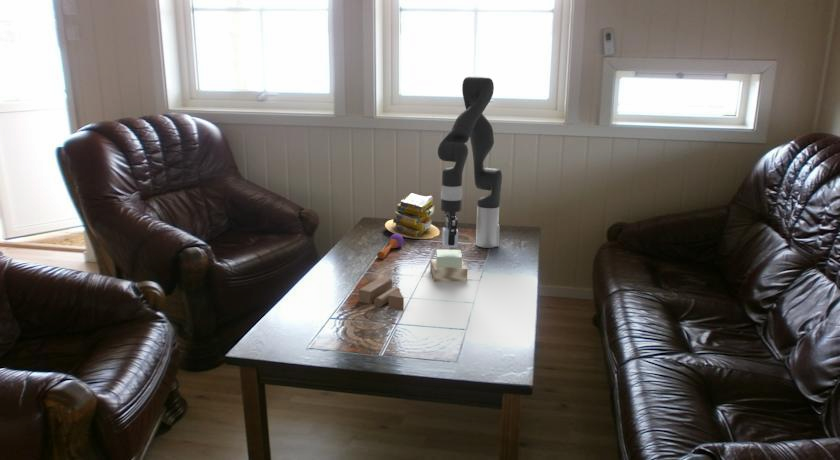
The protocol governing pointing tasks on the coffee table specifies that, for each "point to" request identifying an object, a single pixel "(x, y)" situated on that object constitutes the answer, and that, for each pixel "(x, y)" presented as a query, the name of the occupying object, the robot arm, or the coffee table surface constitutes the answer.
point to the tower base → (448, 272)
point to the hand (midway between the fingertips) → (450, 242)
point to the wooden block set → (382, 294)
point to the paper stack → (414, 218)
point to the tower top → (449, 259)
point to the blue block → (445, 238)
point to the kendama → (391, 245)
